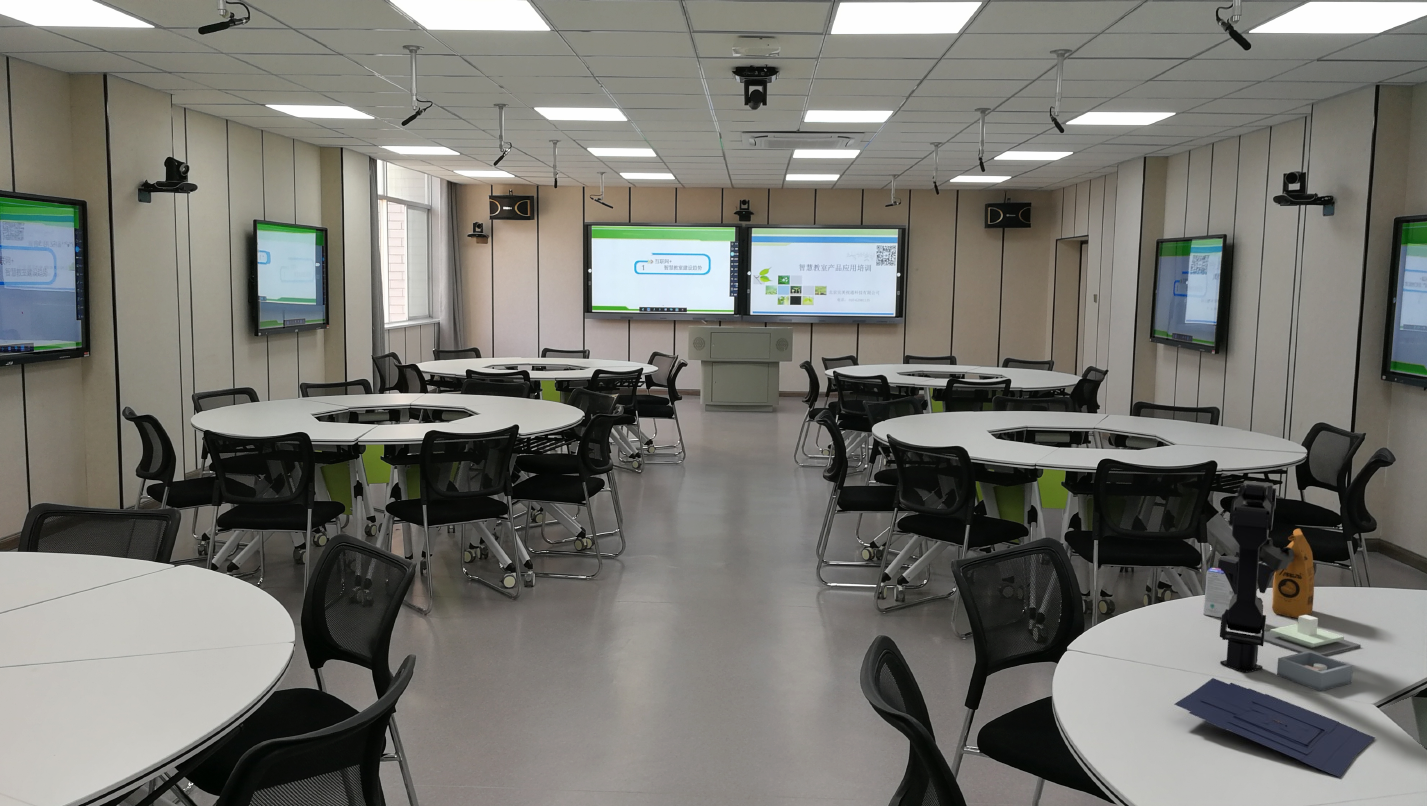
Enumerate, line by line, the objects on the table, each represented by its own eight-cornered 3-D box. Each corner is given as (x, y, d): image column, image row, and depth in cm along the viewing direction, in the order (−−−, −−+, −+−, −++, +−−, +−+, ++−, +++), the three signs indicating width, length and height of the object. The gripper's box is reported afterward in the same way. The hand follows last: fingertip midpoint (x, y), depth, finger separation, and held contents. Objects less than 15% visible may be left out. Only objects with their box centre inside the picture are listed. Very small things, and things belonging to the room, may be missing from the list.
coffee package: (1265, 613, 273) (1271, 533, 271) (1275, 602, 283) (1281, 525, 280) (1307, 621, 267) (1313, 539, 264) (1316, 610, 276) (1322, 531, 274)
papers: (1213, 687, 218) (1217, 671, 217) (1372, 750, 197) (1377, 733, 196) (1167, 719, 201) (1170, 702, 200) (1336, 791, 180) (1340, 773, 179)
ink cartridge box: (1247, 617, 269) (1252, 564, 268) (1243, 622, 265) (1248, 568, 263) (1207, 610, 275) (1211, 557, 274) (1202, 615, 271) (1206, 562, 269)
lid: (1313, 650, 243) (1315, 627, 242) (1269, 636, 252) (1271, 614, 252) (1343, 643, 248) (1345, 620, 248) (1300, 629, 258) (1301, 607, 257)
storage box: (1320, 691, 219) (1322, 673, 219) (1276, 675, 228) (1278, 658, 228) (1351, 682, 224) (1352, 665, 224) (1307, 667, 233) (1308, 650, 233)
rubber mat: (1314, 658, 239) (1315, 656, 239) (1252, 637, 254) (1252, 635, 253) (1360, 647, 248) (1360, 644, 247) (1297, 627, 262) (1297, 625, 262)
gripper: (1261, 544, 235) (1256, 609, 237) (1311, 536, 244) (1305, 599, 245) (1218, 533, 245) (1213, 596, 247) (1267, 526, 253) (1262, 587, 255)
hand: (1250, 595), depth 248 cm, fingers open, 9 cm apart
